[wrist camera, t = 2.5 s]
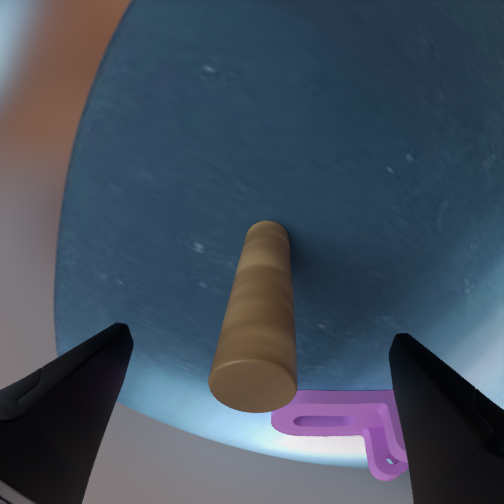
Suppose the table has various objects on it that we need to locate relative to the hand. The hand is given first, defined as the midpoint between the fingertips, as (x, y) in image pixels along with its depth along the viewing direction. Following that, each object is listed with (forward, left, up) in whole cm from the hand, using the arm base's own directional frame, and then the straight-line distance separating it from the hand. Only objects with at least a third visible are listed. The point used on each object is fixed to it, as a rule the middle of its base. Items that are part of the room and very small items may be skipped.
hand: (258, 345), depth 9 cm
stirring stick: (0, 0, -8) cm, 8 cm away
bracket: (-15, +9, -8) cm, 19 cm away
